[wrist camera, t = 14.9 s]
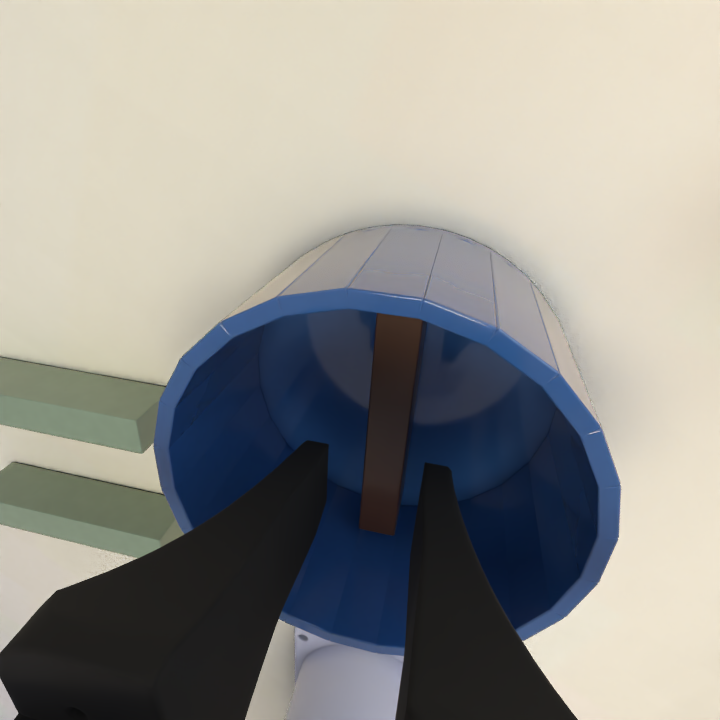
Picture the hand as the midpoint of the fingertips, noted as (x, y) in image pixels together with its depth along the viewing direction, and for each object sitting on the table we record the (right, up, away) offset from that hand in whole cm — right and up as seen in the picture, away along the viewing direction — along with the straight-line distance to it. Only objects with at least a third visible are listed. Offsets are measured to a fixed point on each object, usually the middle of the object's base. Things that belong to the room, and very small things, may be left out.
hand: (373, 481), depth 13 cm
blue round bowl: (+1, +2, +5) cm, 5 cm away
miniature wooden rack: (-13, -1, +10) cm, 17 cm away
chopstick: (+1, +2, +3) cm, 4 cm away
